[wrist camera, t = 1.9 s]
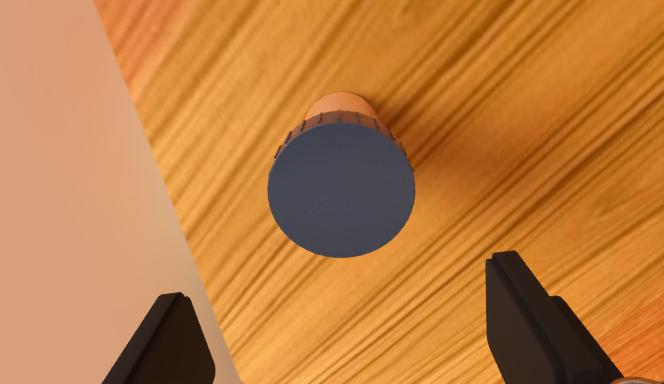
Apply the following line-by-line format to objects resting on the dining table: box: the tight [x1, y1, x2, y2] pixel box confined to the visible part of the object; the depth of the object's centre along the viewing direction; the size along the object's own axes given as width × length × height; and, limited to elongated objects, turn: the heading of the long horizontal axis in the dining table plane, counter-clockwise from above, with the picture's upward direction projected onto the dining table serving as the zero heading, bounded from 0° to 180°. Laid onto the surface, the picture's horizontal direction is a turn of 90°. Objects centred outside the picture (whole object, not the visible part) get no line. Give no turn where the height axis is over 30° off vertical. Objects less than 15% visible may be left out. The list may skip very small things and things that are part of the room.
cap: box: [267, 109, 415, 258], centre depth 20 cm, size 7×7×2 cm
